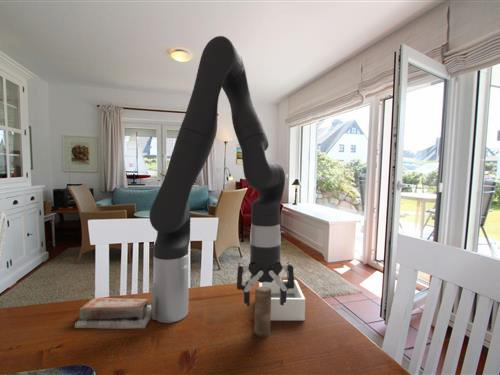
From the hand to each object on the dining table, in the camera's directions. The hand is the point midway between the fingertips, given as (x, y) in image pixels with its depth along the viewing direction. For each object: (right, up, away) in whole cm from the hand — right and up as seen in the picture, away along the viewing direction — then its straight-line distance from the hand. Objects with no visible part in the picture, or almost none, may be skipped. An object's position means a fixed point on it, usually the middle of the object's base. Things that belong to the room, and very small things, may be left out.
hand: (265, 304), depth 66 cm
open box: (+5, -6, +11) cm, 14 cm away
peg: (-1, -7, 0) cm, 7 cm away
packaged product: (-40, -7, +5) cm, 41 cm away
